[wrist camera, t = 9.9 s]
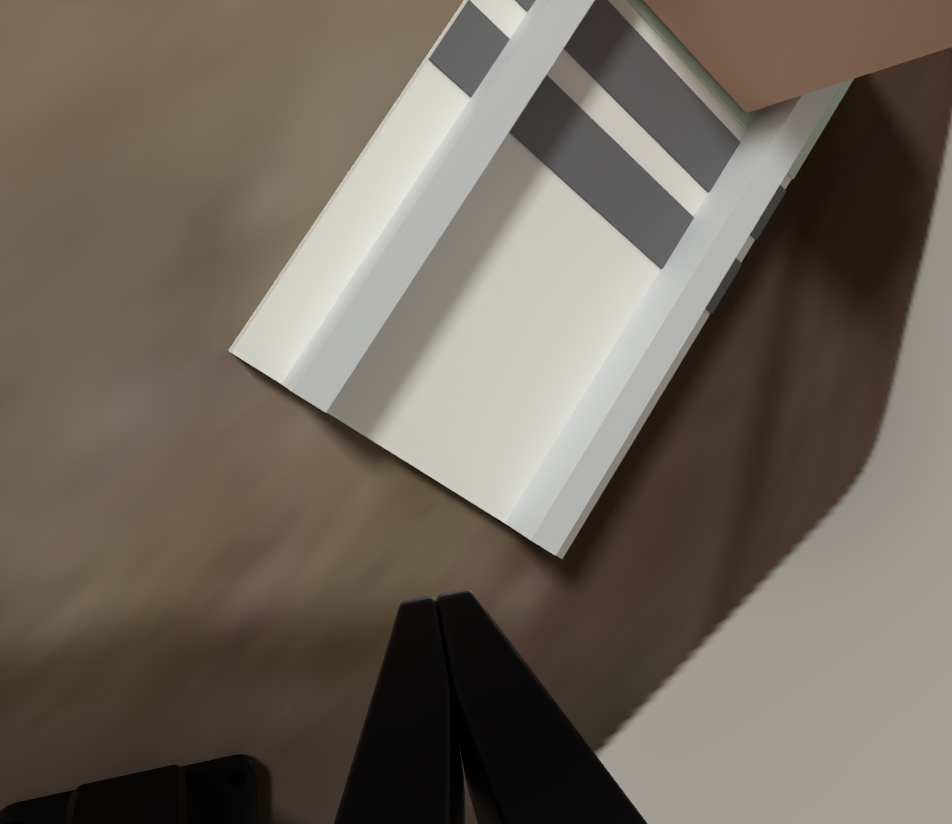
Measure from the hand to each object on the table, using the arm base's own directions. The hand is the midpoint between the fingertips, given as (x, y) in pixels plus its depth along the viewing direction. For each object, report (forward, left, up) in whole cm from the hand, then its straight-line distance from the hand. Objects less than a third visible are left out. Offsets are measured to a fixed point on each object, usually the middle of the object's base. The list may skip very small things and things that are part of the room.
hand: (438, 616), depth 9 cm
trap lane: (+8, -10, -13) cm, 18 cm away
